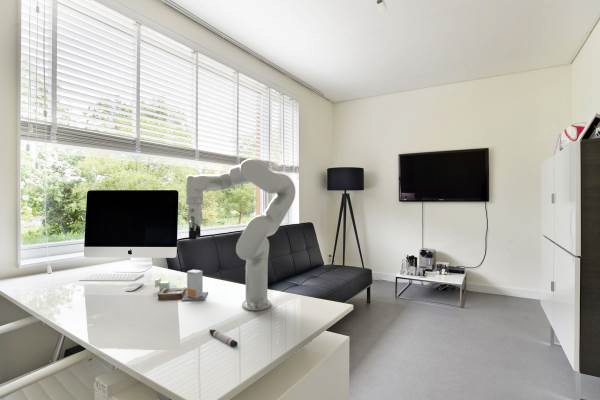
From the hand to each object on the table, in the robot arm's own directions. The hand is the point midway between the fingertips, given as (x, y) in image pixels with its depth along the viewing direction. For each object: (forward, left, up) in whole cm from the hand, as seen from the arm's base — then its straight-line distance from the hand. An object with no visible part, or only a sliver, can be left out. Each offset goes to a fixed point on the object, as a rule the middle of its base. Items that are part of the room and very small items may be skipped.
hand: (194, 237), depth 146 cm
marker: (-44, -18, -29) cm, 55 cm away
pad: (0, 0, -28) cm, 28 cm away
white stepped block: (+11, +18, -28) cm, 35 cm away
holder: (+6, +12, -28) cm, 31 cm away
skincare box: (0, 0, -28) cm, 28 cm away
